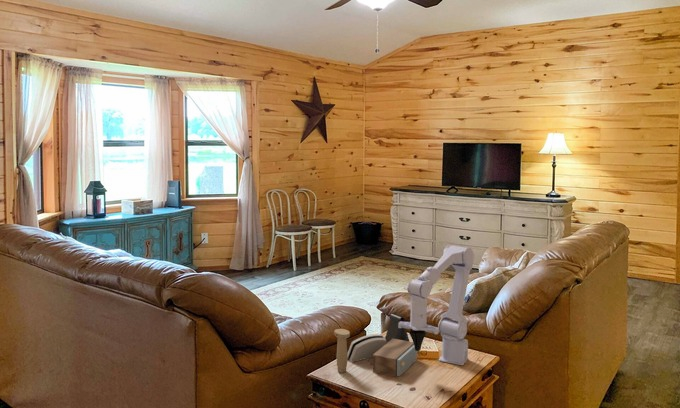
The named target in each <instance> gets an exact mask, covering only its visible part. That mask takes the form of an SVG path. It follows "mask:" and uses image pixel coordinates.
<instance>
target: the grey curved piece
mask: <svg viewBox="0 0 680 408" xmlns="http://www.w3.org/2000/svg"><path fill="white" fill-rule="evenodd" d="M386 343H387V341H386V339H385V337H384V336H383V335H382V334H378V333H375V334H374V333H373V334H367V335H364V336H361V337H358V338H356V339H354V340H353V341H351V342H350V346H349V349H347V360H348V359H349V361H348V362H350V363H353V362H357V361H360V360H361V361H362V360H365V359H369V358H373V354H374V353H376V352H377V351H378V350H379V349H380V348H382V347H383V346H384V345H385V344H386Z"/></svg>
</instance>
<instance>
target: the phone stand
mask: <svg viewBox="0 0 680 408" xmlns="http://www.w3.org/2000/svg"><path fill="white" fill-rule="evenodd" d="M400 321H402V322H406V321H405V317H404V316H402V315H399V314H396V313H391V314H390V315H389V323H388V327H387V331H386V333H385V337H384V338H385V339H386V341H387V343H388V342H389V341H390V340H391V339H399V340H404V341H410V339H409V334H408V331H407V329H406V328H398V323H399V322H400ZM387 343H386V344H387Z"/></svg>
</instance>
